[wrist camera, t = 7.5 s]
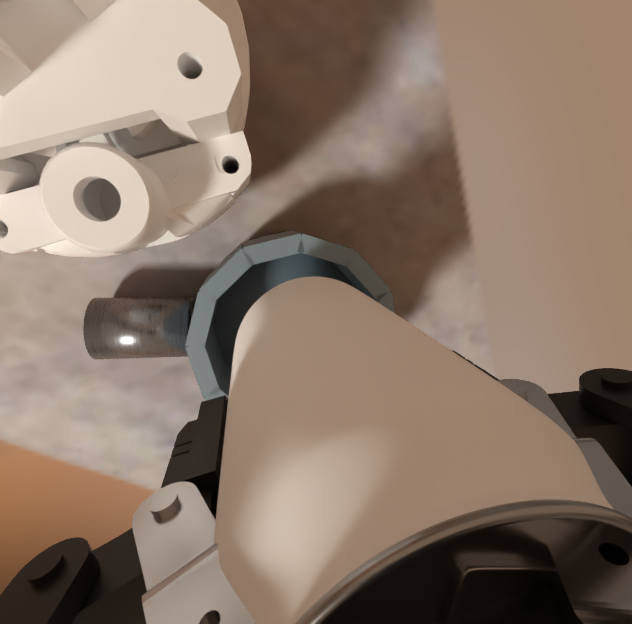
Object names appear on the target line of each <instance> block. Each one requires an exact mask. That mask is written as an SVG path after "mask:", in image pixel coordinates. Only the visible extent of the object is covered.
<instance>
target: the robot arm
mask: <svg viewBox="0 0 632 624" xmlns="http://www.w3.org/2000/svg"><path fill="white" fill-rule="evenodd" d="M451 351H452V350H451ZM453 352H454V353H456V354H457V355H459V356H460V357H462V358H463V359H465V358H464V357H463V356H461V355H460V354H458V353H457V352H455V351H453ZM465 360H466V361H468V362H469V363H471V364H472V365H474V364H473V363H472V362H471V361H469V360H467V359H465ZM474 366H475V367H477V368H478V369H480V370H481V371H483V372H484V373H486V374H487V375H489V376H490V377H492V378H493V379H495V380H496V381H498V382H499V383H501V384H502V385H504V386H505V387H507V388H508V389H510V390H511V391H513V392H514V393H515V394H517V395H518V396H520V397H521V398H523V399H524V400H525V401H527V402H528V403H530V404H531V405H532V406H534V407H535V408H537V409H538V410H539V411H541V412H542V413H544V414H545V415H546V416H547V417H549V418H550V419H551V420H552V421H553V422H555V423H556V424H557V425H558V426H559V427H561V428H562V429H563V430H564V431H565V432H566V433H567V434H568V435H569V436H570V437H571V438H572V439H573V440H574V441H575V442H576V444H577V445H578V447H579V448H580V450H581V452H582V453H583V455H584V457H585V459H586V461H587V463H588V465H589V467H590V469H591V471H592V473H593V475H594V477H595V480H596V482H597V484H598V486H599V488H600V490H601V492H602V493H603V495H604V497H605V498H606V500H607V501H608V503H609V504H610V505H611V506H612V508H613V509H614V510H616V511H619V512H621V513H623V514H625V515H627V516H629V517H631V518H632V371H628V370H623V369H613V368H602V369H594V370H590V371H587V372H585V373H583V374H582V375H581V376H580V378H579V391H573V392H563V393H554V394H547V393H546V392H545V390H544V389H543V388H541V387H540V386H538V385H536V384H534V383H532V382H529V381H524V380H519V379H503V380H499V379H497V378H496V377H494V376H492V375H491V374H489V373H488V372H486V371H485V370H483V369H482V368H480V367H478V366H477V365H474ZM227 406H228V398H227V396H226V395H224V396H220V397H217V398H213V399H210V400H207V401H203V402H202V403H201V406H200V410H199V414H198V419H197V420H194V421H191V422H188V423H187V424H186V425H185V426H184V428H183V429H182V430H181V431H180V432H179V434H178V435H177V439H176V442H175V445H174V448H173V451H172V455H171V458H170V461H169V464H168V467H167V470H166V474H165V477H164V480H163V483H162V486H161V489H159V490H158V491H156V492H155V493H153V494H152V495H151V496H149V497H148V498H147V499H146V500H145V501H144V502H143V503H142V504H141V505H140V506H139V508H138V509H137V511H136V512H135V514H134V517H133V519H132V528H131V529H130V530H128V531H127V532H125V533H123V534H122V535H120V536H119V537H117V538H115V539H113V540H111V541H109V542H108V543H106V544H104V545H102V546H100V547H99V548H97V549H95V550H93V551H92V549H91V547H90V545H89V544H88V542H87V541H86V540H85V539H83V538H77V537H76V538H70V539H66V540H64V541H61V542H59V543H57V544H55V545H52V546H51V547H49V548H47V549H46V550H44V551H43V552H41V553H40V554H38V555H37V556H36V557H35V558H33V559H32V560H31V561H30V562H29V563H27V565H25V566H24V567H23V568H22V569H21V570H20V571H19V573H18V574H17V575H16V576H15V577H14V578H13V580H12V581H11V583H10V584H9V585H8V586H7V587H6V589H5V590H4V591H3V593H2V594H1V595H0V624H255V622H254V620H253V618H252V617H251V615H250V613H249V612H248V610H247V609H246V607H245V606H244V604H243V603H242V602H241V600H240V599H239V597H238V596H237V594H236V593H235V591H234V590H233V588H232V587H231V585H230V583H229V582H228V580H227V578H226V577H225V575H224V573H223V571H222V569H221V566H220V564H219V553H218V544H217V542H216V543H215V544H214V533H215V523H216V512H217V501H218V492H219V482H220V472H221V463H222V453H223V443H224V434H225V425H226V415H227ZM548 562H549V564H550V566H551V569H552V579H553V585H552V587H553V590H554V593H547V592H545V591H544V590H543V588H542V587H541V586H540V587H537V588H535V589H532V590H529V591H527V592H524V593H522V594H519V595H517V596H514V597H511V598H509V599H506V600H504V601H501V602H499V603H496V604H494V605H491V606H489V607H486V608H484V609H481V610H478V611H476V612H473V613H471V614H468V615H466V616H463V617H461V619H460V624H632V534H630V533H628V532H626V531H624V530H622V529H619V528H617V527H614V526H611V525H607V524H604V523H599V522H597V523H596V524H595V525H594V526H592V527H591V528H589V529H586V530H584V531H582V532H580V533H577V534H575V535H572V536H570V537H567V538H565V539H562V540H560V541H557V542H555V543H552V544H549V545H548Z"/></svg>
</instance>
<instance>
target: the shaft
mask: <svg viewBox="0 0 632 624" xmlns="http://www.w3.org/2000/svg"><path fill="white" fill-rule="evenodd" d="M193 311H194V302H193V299H192V298H191V297H179V298H94V299H92V300H91V301H90V303H89V305H88V307H87V309H86V313H85V318H84V340H85V345H86V348H87V351H88V353H89V355H90V356H91V357H92V358H93V359H122V358H152V357H181V356H188V354H187V351H186V349H185V347H186V346H185V344H186V340H187V336H188V332H189V327H190V323H191V319H192V315H193Z"/></svg>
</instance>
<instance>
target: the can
mask: <svg viewBox="0 0 632 624" xmlns="http://www.w3.org/2000/svg"><path fill="white" fill-rule="evenodd" d="M597 522H599V523H604V524H607V525H611V526H614V527H617V528H619V529H622V530H624V531H626V532H628V533H630V534H632V518H631V517H629V516H627V515H625V514H623V513H621V512H619V511H616V510H614V509H613V508H612V506H611V505H610V504H609V503H608V501H607V500H606V498H605V497H604V495H603V493H602V492H601V490H600V488H599V486H598V484H597V482H596V480H595V477H594V475H593V473H592V471H591V469H590V467H589V465H588V463H587V461H586V459H585V457H584V455H583V453H582V452H581V450H580V448H579V447H578V445H577V444H576V442H575V441H574V440H573V439H572V438H571V437H570V436H569V435H568V434H567V433H566V432H565V431H564V430H563V429H562V428H561V427H559V426H558V425H557V424H556V423H555V422H553V421H552V420H551V419H550V418H549V417H547V416H546V415H545V414H544V413H542V412H541V411H539V410H538V409H537V408H535V407H534V406H532V405H531V404H530V403H528V402H527V401H525V400H524V399H523V398H521V397H520V396H518V395H517V394H515V393H514V392H513V391H511V390H510V389H508V388H507V387H505V386H504V385H502V384H501V383H499V382H498V381H496V380H495V379H493V378H492V377H490V376H489V375H487V374H486V373H484V372H483V371H481V370H480V369H478V368H477V367H475V366H474V365H472V364H471V363H469V362H468V361H466V360H465V359H463V358H462V357H460V356H459V355H457V354H456V353H454V352H453V351H451V350H450V349H448V348H447V347H445V346H444V345H442V344H441V343H439V342H438V341H436V340H435V339H433V338H432V337H430V336H428V335H427V334H425V333H424V332H422V331H421V330H419V329H418V328H416V327H415V326H413V325H412V324H410V323H409V322H407V321H406V320H404V319H403V318H401V317H399V316H398V315H396V314H395V313H393V312H392V311H390V310H389V309H387V308H386V307H384V306H383V305H381V304H379V303H378V302H376V301H375V300H373V299H372V298H370V297H369V296H367V295H365V294H364V293H362V292H361V291H359V290H357V289H356V288H354V287H352V286H350V285H348V284H346V283H344V282H341V281H338V280H335V279H331V278H326V277H302V278H297V279H293V280H290V281H287V282H284V283H282V284H280V285H278V286H276V287H274V288H272V289H271V290H269V291H268V292H266V293H265V294H264V295H262V296H261V297H260V298H259V299H258V300H257V301H256V302H255V303H254V304H253V305H252V307H251V308H250V309H249V311H248V312H247V314H246V315H245V317H244V319H243V321H242V323H241V325H240V327H239V330H238V333H237V337H236V341H235V347H234V354H233V362H232V370H231V379H230V388H229V397H228V406H227V415H226V425H225V434H224V443H223V453H222V463H221V472H220V482H219V492H218V501H217V512H216V523H215V533H214V544H215V543H216V542H217V544H218V553H219V564H220V566H221V569H222V571H223V573H224V575H225V577H226V578H227V580H228V582H229V583H230V585H231V587H232V588H233V590H234V591H235V593H236V594H237V596H238V597H239V599H240V600H241V602H242V603H243V604H244V606H245V607H246V609H247V610H248V612H249V613H250V615H251V617H252V618H253V620H254V622H255V624H460V619H461V617H463V616H466V615H468V614H471V613H473V612H476V611H478V610H481V609H484V608H486V607H489V606H491V605H494V604H496V603H499V602H501V601H504V600H506V599H509V598H511V597H514V596H517V595H519V594H522V593H524V592H527V591H529V590H532V589H535V588H537V587H540V586H541V587H542V588H543V590H544V591H545V592H547V593H554V590H553V587H552V585H553V579H552V569H551V566H550V564H549V562H548V545H549V544H552V543H555V542H557V541H560V540H562V539H565V538H567V537H570V536H572V535H575V534H577V533H580V532H582V531H584V530H586V529H589V528H591V527H592V526H594V525H595V524H596V523H597Z"/></svg>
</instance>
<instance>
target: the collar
mask: <svg viewBox="0 0 632 624" xmlns="http://www.w3.org/2000/svg"><path fill="white" fill-rule="evenodd" d="M302 277H326V278H331V279H335V280H338V281H341V282H344V283H346V284H348V285H350V286H352V287H354V288H356V289H357V290H359V291H361V292H362V293H364V294H365V295H367V296H369V297H370V298H372V299H373V300H375V301H376V302H378V303H379V304H381V305H383V306H384V307H386V308H387V309H389V310H390V311H392V312H393V313H395V310H394V304H393V298H392V291H390V288H389V287H388V286H387V285H386V284H385V283H384V281H383V280H382V279H381V278H380V277H379V276H378V275H377V273H376V272H375V271H374V270H373V269H372V268H371V266H370V265H369V264H368V263H367V262H366V261H365V259H364V258H363V257H362V256H361V255H360V254H359V253H358V251H356V250H354V249H351V248H348V247H345V246H341V245H338V244H335V243H332V242H328V241H325V240H322V239H319V238H316V237H312V236H309V235H306V234H303V233H299V232H296V231H291V230H290V231H286V232H282V233H276V234H270V235H265V236H262V237H259V238H256V239H253V240H249V241H245V242H243V243H241V244H240V245H239V246H238V247H237V248H236V249H235V250H234V251H233V252H232V253H231V254H229V255H228V256H227V257H226V258H225V259H224V260H223V261H222V262H221V264H220V265H219V266H218V267H217V268H216V269H215V270H214V271H213V272H212V273H211V274H210V275H209V276H208V277H207V278H206V280H205V281H204V283H203V284H202V286H201V287H200V289H199V291H198V294H197V298H196V302H195V306H194V311H193V315H192V319H191V323H190V327H189V332H188V336H187V340H186V344H185V346H186V347H185V349H186V351H187V354H188V357H189V360H190V362H191V365H192V368H193V371H194V374H195V376H196V379H197V382H198V385H199V387H200V390H201V393H202V396H203V397H204V399H205V400H206V401H207V400H210V399H213V398H217V397H220V396H224V395H226V396H227V398H228V397H229V388H230V379H231V370H232V362H233V354H234V347H235V341H236V337H237V333H238V330H239V327H240V325H241V323H242V321H243V319H244V317H245V315H246V314H247V312H248V311H249V309H250V308H251V307H252V305H253V304H254V303H255V302H256V301H257V300H258V299H259V298H260V297H261V296H262V295H264V294H265V293H266V292H268V291H269V290H271V289H272V288H274V287H276V286H278V285H280V284H282V283H284V282H287V281H290V280H293V279H297V278H302Z"/></svg>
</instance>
